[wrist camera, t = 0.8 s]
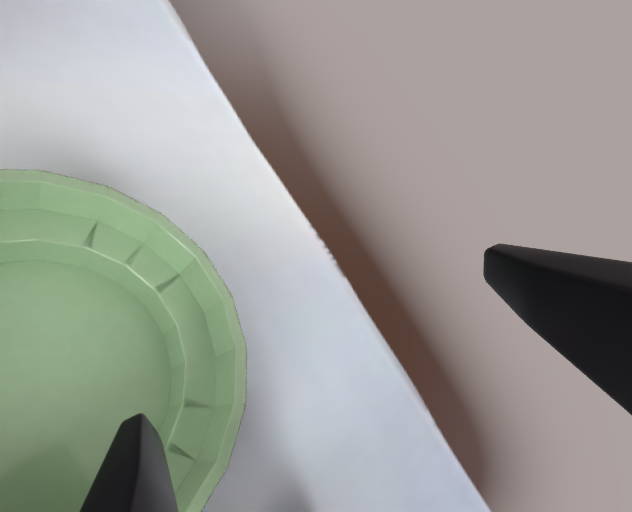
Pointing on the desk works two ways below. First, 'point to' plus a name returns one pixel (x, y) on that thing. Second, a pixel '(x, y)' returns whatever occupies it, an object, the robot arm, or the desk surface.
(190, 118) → the desk surface
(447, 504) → the desk surface
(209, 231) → the desk surface
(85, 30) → the desk surface
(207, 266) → the bowl
